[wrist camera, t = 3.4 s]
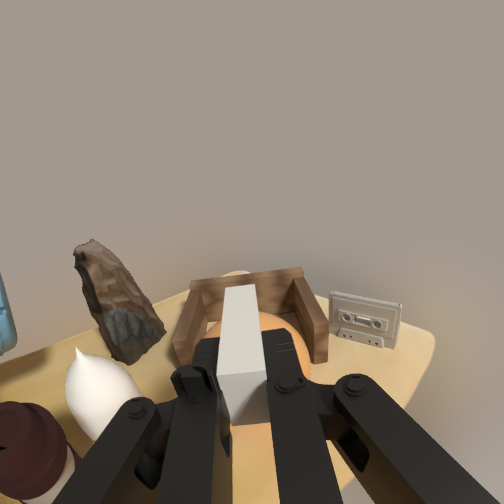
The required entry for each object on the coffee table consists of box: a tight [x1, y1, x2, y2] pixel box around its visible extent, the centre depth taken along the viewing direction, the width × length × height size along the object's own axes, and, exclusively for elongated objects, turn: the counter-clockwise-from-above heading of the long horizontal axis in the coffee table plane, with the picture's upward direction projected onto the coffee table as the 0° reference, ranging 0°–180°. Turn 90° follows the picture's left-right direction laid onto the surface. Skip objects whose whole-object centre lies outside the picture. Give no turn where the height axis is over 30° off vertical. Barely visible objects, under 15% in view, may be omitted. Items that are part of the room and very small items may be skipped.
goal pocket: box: [172, 267, 329, 367], centre depth 44 cm, size 21×18×8 cm
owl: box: [73, 239, 167, 365], centre depth 43 cm, size 13×13×20 cm
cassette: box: [329, 291, 402, 349], centre depth 39 cm, size 12×2×8 cm, turn 49°
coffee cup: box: [0, 401, 82, 504], centre depth 12 cm, size 10×10×15 cm
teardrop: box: [65, 348, 143, 441], centre depth 27 cm, size 11×11×12 cm
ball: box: [203, 312, 311, 380], centre depth 29 cm, size 13×13×13 cm
